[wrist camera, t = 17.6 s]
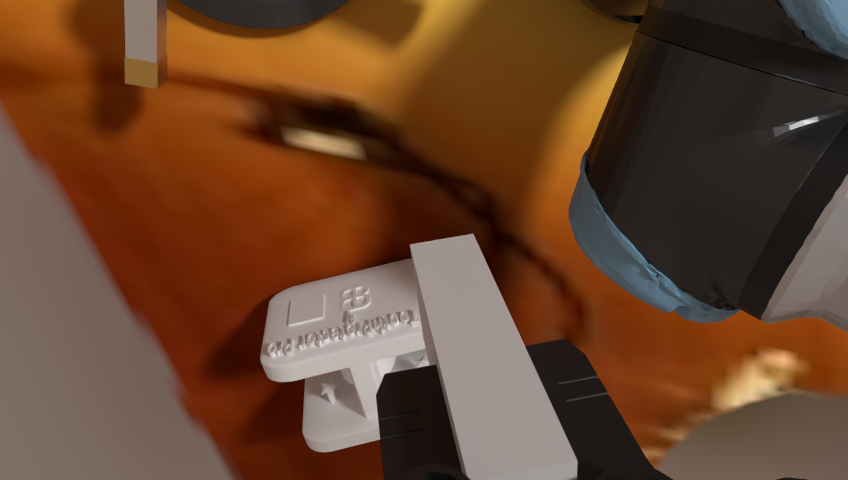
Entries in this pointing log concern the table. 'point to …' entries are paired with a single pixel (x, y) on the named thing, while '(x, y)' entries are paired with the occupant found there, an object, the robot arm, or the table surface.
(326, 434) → the cable organizer
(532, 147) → the table surface
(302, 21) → the tribrach base
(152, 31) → the screw
